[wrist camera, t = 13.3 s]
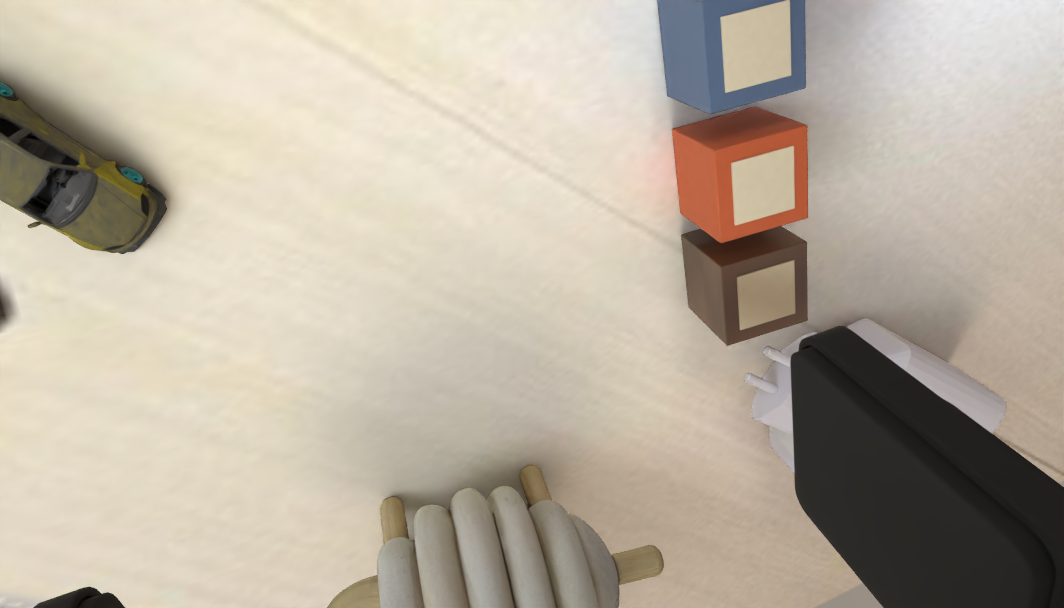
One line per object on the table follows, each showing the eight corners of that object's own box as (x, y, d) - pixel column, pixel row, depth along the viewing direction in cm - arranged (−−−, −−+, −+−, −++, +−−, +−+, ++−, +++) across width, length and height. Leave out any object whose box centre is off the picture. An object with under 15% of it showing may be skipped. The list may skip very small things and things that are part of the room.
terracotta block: (671, 128, 32) (714, 151, 28) (755, 106, 32) (809, 124, 29) (679, 213, 34) (721, 244, 30) (759, 190, 34) (809, 218, 31)
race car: (127, 263, 29) (110, 288, 27) (-88, 137, 25) (-129, 154, 23) (179, 196, 28) (166, 216, 26) (-34, 56, 24) (-71, 66, 22)
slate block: (656, -4, 29) (702, 1, 25) (748, -27, 30) (806, -25, 26) (666, 96, 31) (710, 115, 27) (752, 73, 32) (807, 88, 28)
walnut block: (680, 234, 34) (721, 268, 31) (758, 211, 35) (808, 242, 31) (688, 307, 36) (727, 347, 33) (761, 285, 37) (809, 321, 33)
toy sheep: (295, 485, 35) (276, 683, 26) (609, 396, 38) (701, 547, 28) (353, 621, 40) (356, 830, 31) (628, 535, 43) (711, 704, 33)
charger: (782, 269, 37) (951, 363, 43) (685, 407, 39) (858, 477, 45) (838, 308, 33) (1016, 406, 39) (725, 460, 35) (910, 529, 41)
